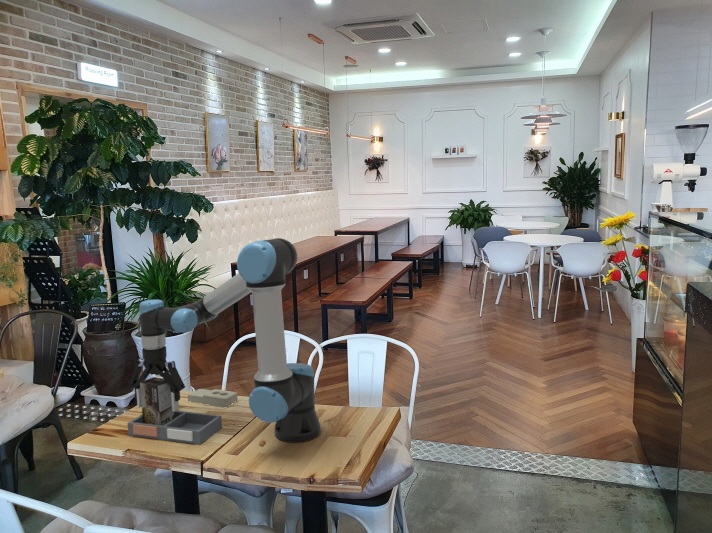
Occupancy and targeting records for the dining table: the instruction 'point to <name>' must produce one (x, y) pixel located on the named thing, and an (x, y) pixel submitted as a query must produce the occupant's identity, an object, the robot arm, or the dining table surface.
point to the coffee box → (156, 401)
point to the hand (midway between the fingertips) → (158, 408)
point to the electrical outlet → (213, 397)
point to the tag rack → (179, 427)
